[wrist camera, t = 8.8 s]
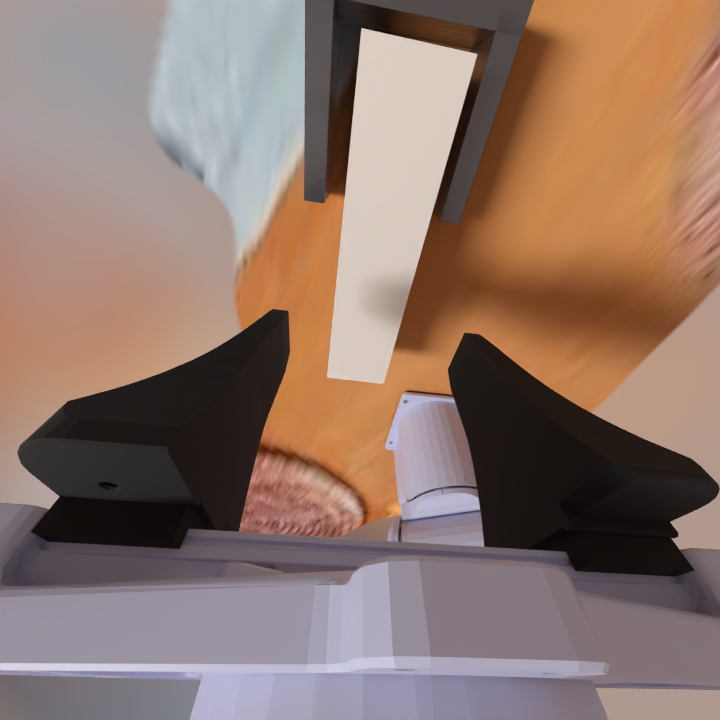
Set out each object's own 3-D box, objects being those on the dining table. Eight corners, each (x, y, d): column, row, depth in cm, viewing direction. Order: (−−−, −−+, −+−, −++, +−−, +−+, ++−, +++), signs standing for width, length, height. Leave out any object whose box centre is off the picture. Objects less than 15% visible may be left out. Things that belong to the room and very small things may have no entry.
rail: (380, 342, 23) (383, 383, 20) (333, 336, 23) (327, 377, 19) (444, 75, 13) (477, 53, 9) (362, 57, 13) (361, 28, 9)
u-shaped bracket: (445, 210, 17) (458, 223, 14) (312, 190, 16) (304, 200, 14) (503, 19, 12) (536, -7, 10) (317, -21, 11) (305, -58, 9)
